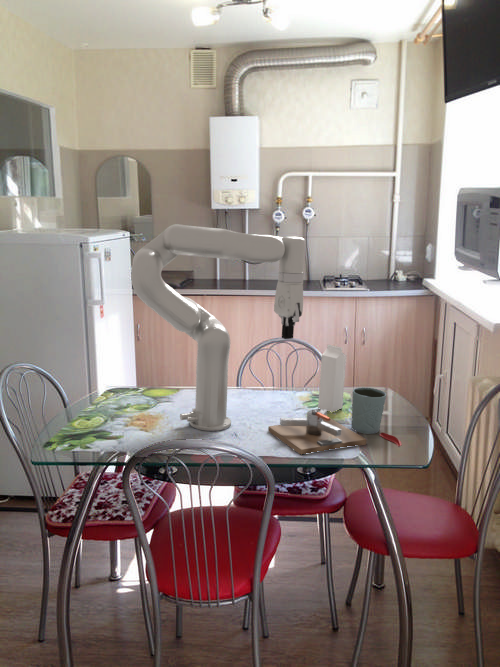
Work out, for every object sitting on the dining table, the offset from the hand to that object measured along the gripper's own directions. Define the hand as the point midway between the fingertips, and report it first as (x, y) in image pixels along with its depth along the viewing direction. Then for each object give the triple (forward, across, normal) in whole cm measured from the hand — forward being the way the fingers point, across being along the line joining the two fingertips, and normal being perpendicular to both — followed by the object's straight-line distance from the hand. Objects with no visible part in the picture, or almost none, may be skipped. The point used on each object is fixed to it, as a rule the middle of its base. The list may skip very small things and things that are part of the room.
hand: (287, 338), depth 181 cm
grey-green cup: (+27, +14, +22) cm, 38 cm away
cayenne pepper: (+28, +24, +23) cm, 44 cm away
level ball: (+25, +23, +2) cm, 34 cm away
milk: (+27, -6, +22) cm, 36 cm away
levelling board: (+27, +15, +3) cm, 31 cm away
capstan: (+25, +14, +4) cm, 29 cm away
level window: (+25, +23, +2) cm, 35 cm away
